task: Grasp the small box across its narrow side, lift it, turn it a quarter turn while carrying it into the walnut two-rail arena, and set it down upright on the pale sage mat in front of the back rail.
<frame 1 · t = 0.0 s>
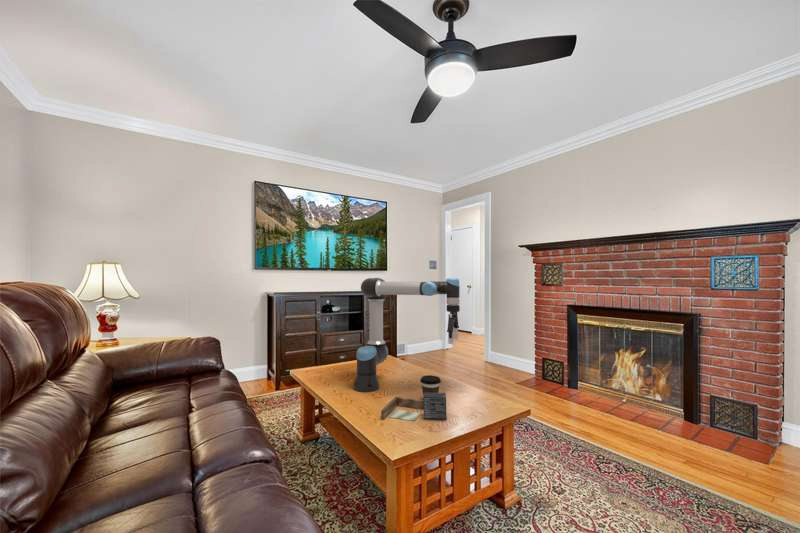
hand: (453, 341, 191), 28 cm above the table, fingers open, 13 cm apart
coffee cup: (430, 401, 174), on the table
arena: (405, 414, 158), on the table
small box: (435, 417, 155), on the table
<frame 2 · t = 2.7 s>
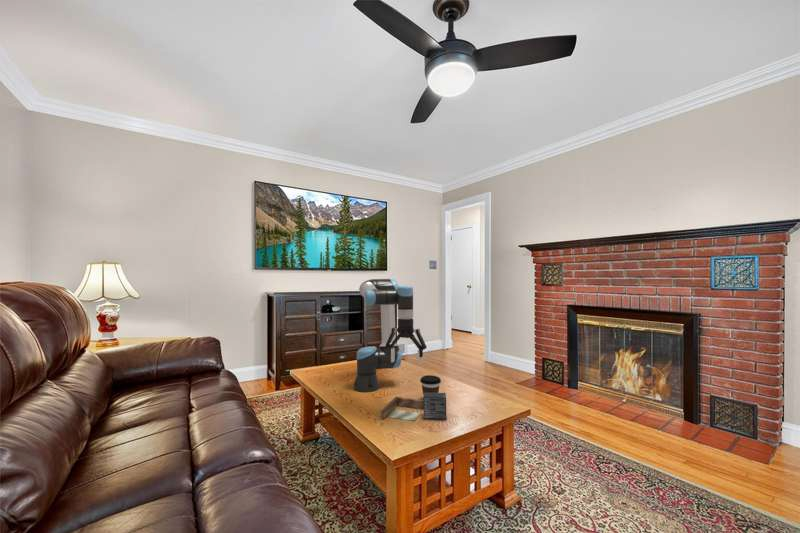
hand: (405, 362, 157), 25 cm above the table, fingers open, 13 cm apart
nothing on the table moved.
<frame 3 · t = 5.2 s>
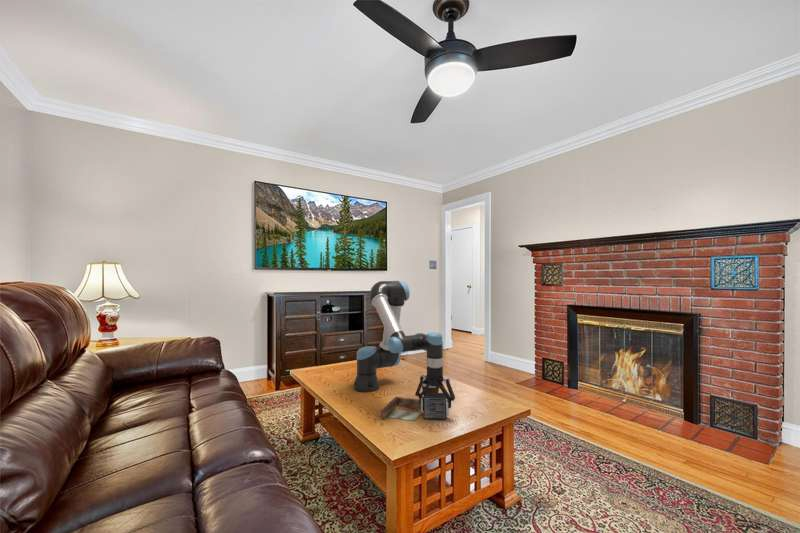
hand: (435, 413, 155), 2 cm above the table, fingers closed on small box, 11 cm apart
small box: (435, 417, 155), on the table, touching gripper
everything else where it was.
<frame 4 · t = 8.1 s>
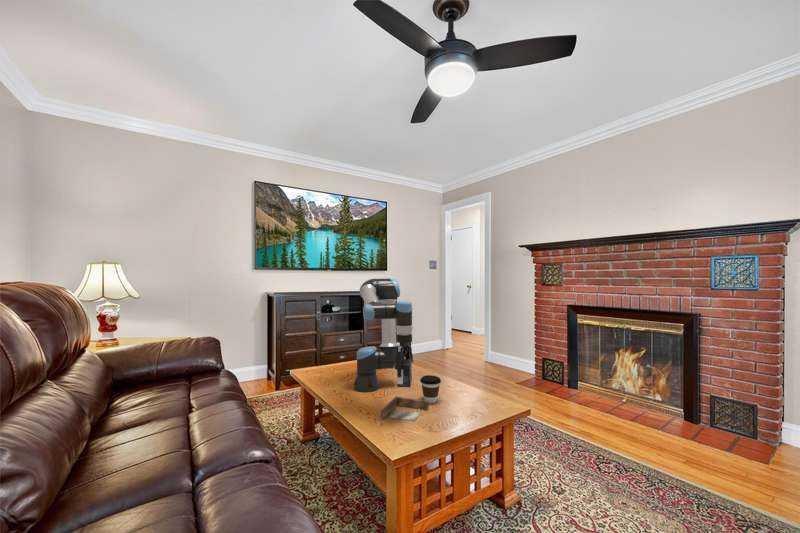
hand: (404, 379, 157), 17 cm above the table, fingers closed on small box, 11 cm apart
small box: (404, 384, 157), point 15 cm above the table, touching gripper
everything else where it was.
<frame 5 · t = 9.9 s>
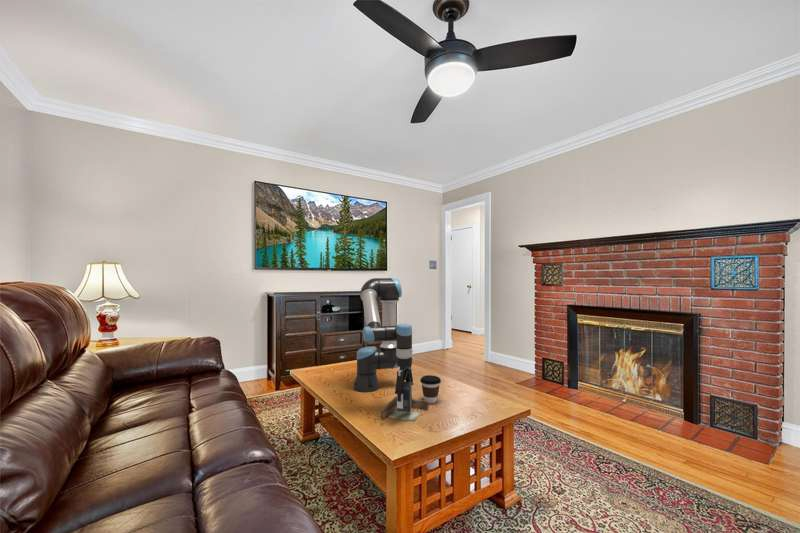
hand: (404, 403, 156), 6 cm above the table, fingers closed on small box, 11 cm apart
small box: (404, 407, 156), point 4 cm above the table, touching gripper
everything else where it was.
when the fingers open (4 cm above the table, at t = 11.0 s): small box drops 1 cm, resting on arena.
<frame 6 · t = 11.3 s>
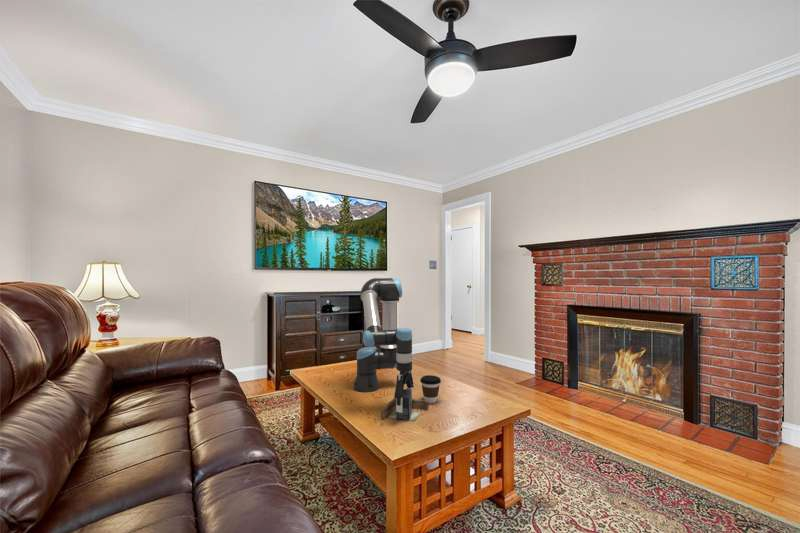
hand: (404, 406, 156), 4 cm above the table, fingers open, 13 cm apart
small box: (404, 415, 156), resting on arena
everything else where it was.
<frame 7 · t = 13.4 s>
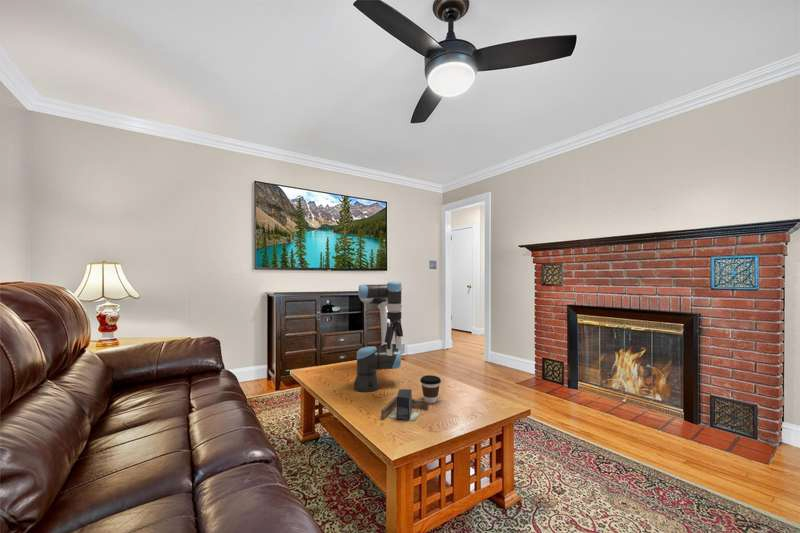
hand: (394, 351, 172), 26 cm above the table, fingers open, 13 cm apart
nothing on the table moved.
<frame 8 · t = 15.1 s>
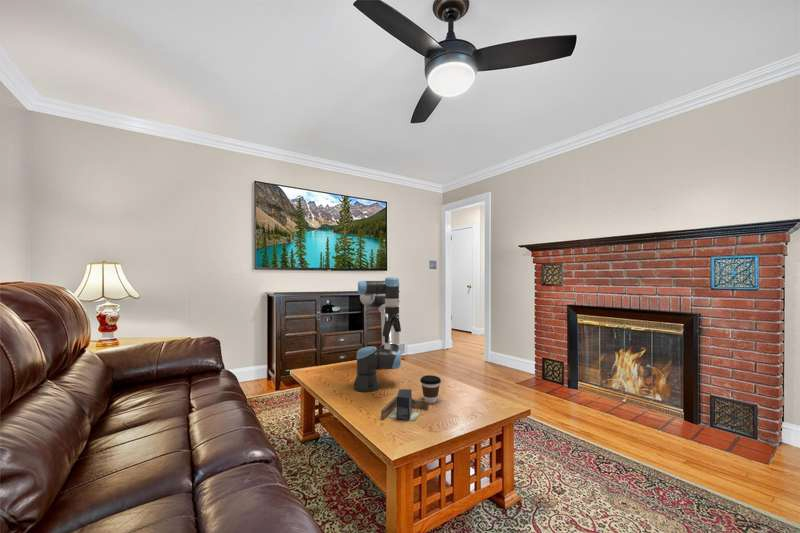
hand: (392, 346, 175), 29 cm above the table, fingers open, 13 cm apart
nothing on the table moved.
at the end: small box inside the target area on the arena (0.3 cm from its centre), point 0.1 cm above the arena's base; small box tilted 0°; the gripper is holding nothing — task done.
